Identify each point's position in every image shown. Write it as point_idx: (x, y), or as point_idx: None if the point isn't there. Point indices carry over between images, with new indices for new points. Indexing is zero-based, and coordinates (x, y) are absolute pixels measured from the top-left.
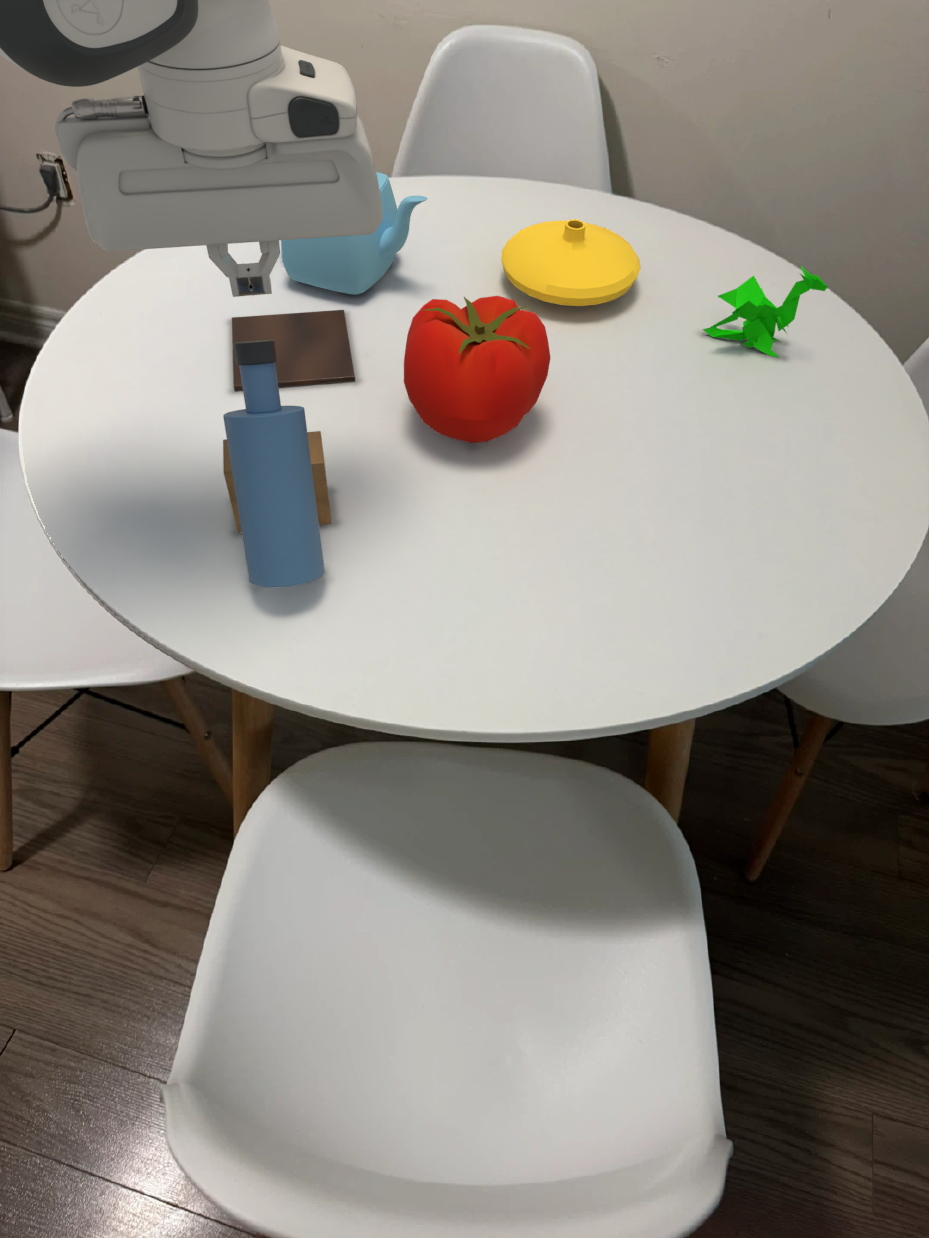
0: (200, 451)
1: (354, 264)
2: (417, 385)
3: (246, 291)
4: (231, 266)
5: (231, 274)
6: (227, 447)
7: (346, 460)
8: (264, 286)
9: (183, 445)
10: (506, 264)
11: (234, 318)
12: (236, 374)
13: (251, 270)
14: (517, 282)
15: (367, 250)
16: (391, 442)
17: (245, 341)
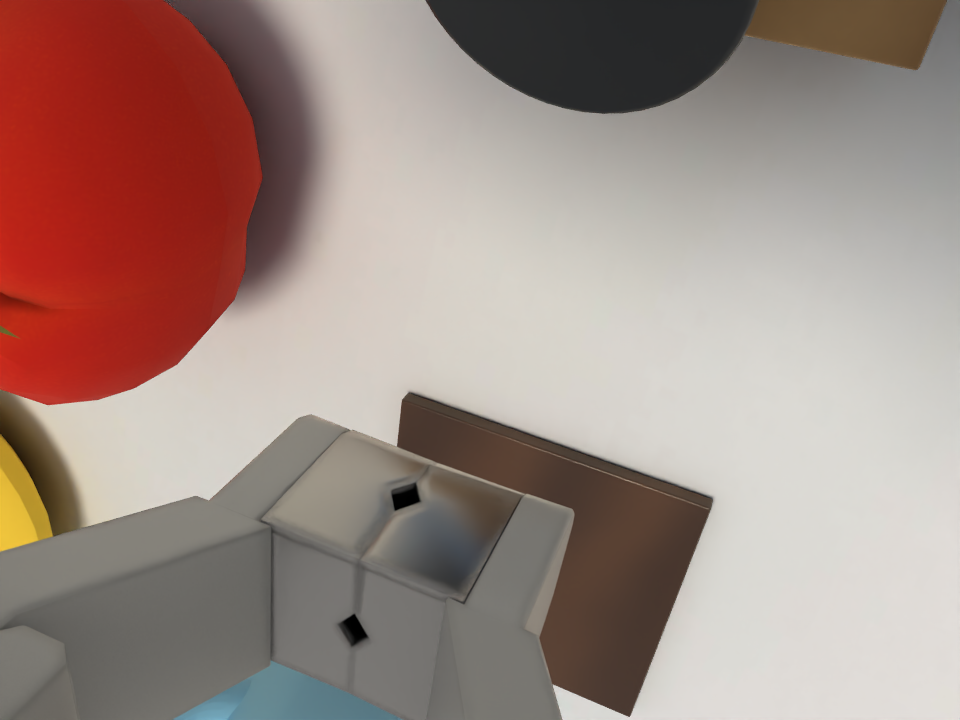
0: (912, 313)
1: (299, 690)
2: (163, 132)
3: (456, 489)
4: (449, 708)
5: (484, 635)
6: (922, 4)
7: (500, 101)
8: (308, 456)
9: (953, 361)
10: (29, 540)
11: (624, 711)
12: (686, 544)
13: (331, 613)
14: (17, 487)
15: (257, 707)
16: (368, 130)
17: (636, 97)
